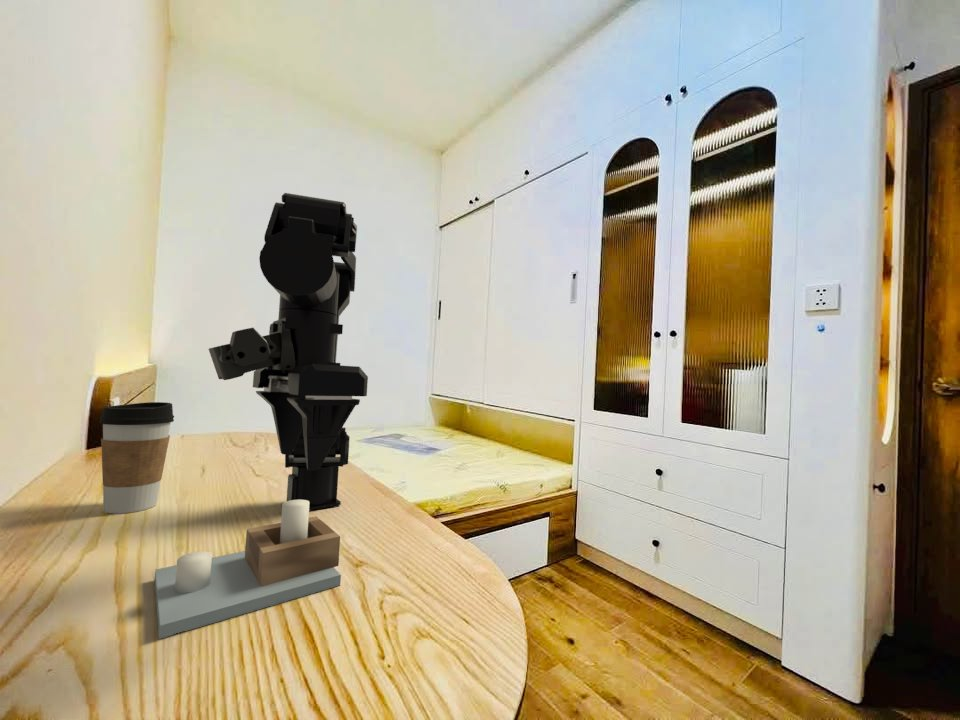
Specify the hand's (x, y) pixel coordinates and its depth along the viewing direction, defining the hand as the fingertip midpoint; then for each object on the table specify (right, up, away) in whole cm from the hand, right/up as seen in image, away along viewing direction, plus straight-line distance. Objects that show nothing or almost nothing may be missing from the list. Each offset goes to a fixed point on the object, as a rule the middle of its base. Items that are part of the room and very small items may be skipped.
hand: (298, 461), depth 42 cm
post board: (-4, -11, -3) cm, 12 cm away
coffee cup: (-32, -11, +16) cm, 37 cm away
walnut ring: (-1, -10, 0) cm, 10 cm away
